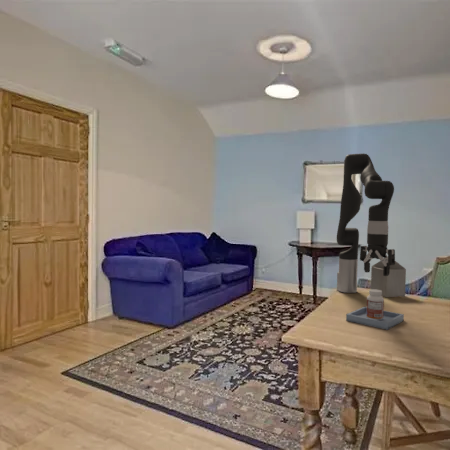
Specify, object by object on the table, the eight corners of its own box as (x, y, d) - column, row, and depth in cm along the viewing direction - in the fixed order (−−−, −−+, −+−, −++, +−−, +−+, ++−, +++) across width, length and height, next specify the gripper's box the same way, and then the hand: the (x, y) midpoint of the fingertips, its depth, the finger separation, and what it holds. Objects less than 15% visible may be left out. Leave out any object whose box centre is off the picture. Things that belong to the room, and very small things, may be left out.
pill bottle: (371, 315, 156) (372, 288, 156) (386, 318, 151) (387, 290, 151) (363, 318, 152) (364, 290, 152) (377, 321, 148) (378, 293, 147)
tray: (346, 320, 152) (346, 314, 151) (364, 312, 163) (364, 306, 163) (387, 329, 140) (387, 323, 140) (403, 320, 152) (403, 314, 152)
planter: (367, 295, 195) (368, 256, 194) (370, 292, 202) (372, 255, 201) (403, 299, 187) (404, 259, 186) (405, 296, 193) (406, 257, 192)
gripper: (356, 231, 154) (355, 272, 155) (387, 234, 142) (386, 278, 143) (368, 230, 158) (367, 270, 159) (400, 233, 146) (398, 276, 147)
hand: (376, 274), depth 151 cm, fingers open, 8 cm apart
